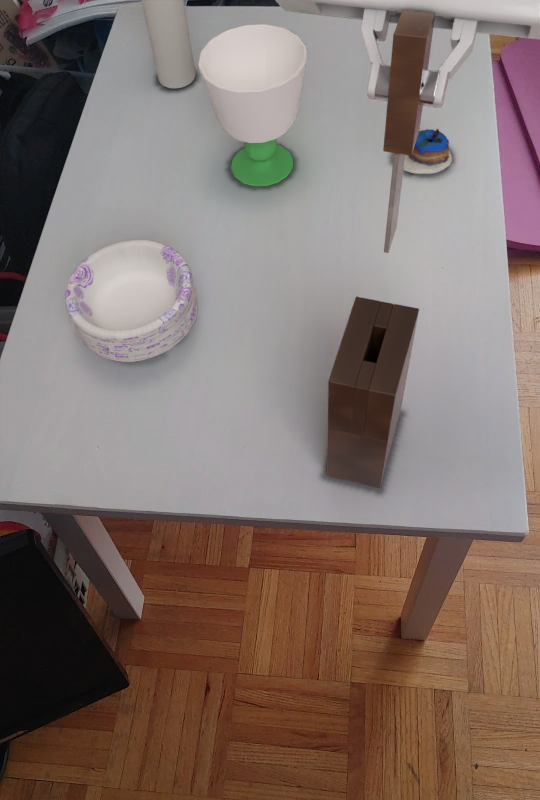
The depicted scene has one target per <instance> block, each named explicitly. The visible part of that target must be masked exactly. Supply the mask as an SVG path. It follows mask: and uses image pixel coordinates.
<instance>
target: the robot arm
mask: <svg viewBox="0 0 540 800" xmlns="http://www.w3.org/2000/svg"><path fill="white" fill-rule="evenodd" d="M275 2H276V3H277V4H278V5H279V7H280V8H281V9H282V10H283V11H285V12H287V13H294V14H304V15H312V16H323V17H332V18H339V19H349V20H358V21H361V26H360V32H361V36H362V39H363V43H364V45H365V49H366V52H367V57H368V59H369V62H370V65H371V68H370V73H369V77H368V78H369V79H368V84H367V88H366V89H367V91H366V92H367V93H366V95H367V97H368V99H369V100H377V101H385V102H388V90H389V79H390V68H391V64H385V63H384V62H383V58H382V55H381V52H380V48H379V44H378V41H379V42H385V41H386V40H387V37H388V32H389V27H390V24H395V25H397V24H398V21H399V18H400V16H401V13H402V10H403V9H407V10H416V11H425V12H434V13H435V20H434V27H433V29H438V30H449V31H451V34H450V46H451V47H450V48H451V49H452V50H451V52H450V53H449V54H448V56H446V59H445V60H444V62H442V64H441V65H440V66H439V68H438V69H437V70H433V69H432V70H430V69H428V70H425V74H424V79H423V87H422V88H421V93H420V99H419V103H420V105H423V107H430V108H437V109H442V108H443V105H444V101H445V97H446V92H447V87H448V83H449V80H451V79H452V78H453V76H454V75H455V74H456V73H457V71H458V70H459V69H460V68H461V66H463V64H464V63H465V61H466V60H467V59H468V58H469V57H470V56H471V54H472V53H473V50H474V46H475V41H476V38H477V37H476V36H477V34H486V35H494V36H501V37H512V38H521V39H530V40H538V41H540V0H275Z"/></svg>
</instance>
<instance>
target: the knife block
mask: <svg viewBox="0 0 540 800" xmlns="http://www.w3.org/2000/svg"><path fill="white" fill-rule="evenodd" d="M419 313H420V308H419V307H413V306H408V305H403V304H397V303H391V302H387V301H381V300H377V299H371V298H366V297H360V296H355V298H354V301H353V304H352V308H351V310H350V313H349V316H348V317H349V318H348V320H347V323H346V325H345V329H344V331H343V334H342V338H341V341H340V344H339V347H338V350H337V353H336V356H335V360H334V363H333V365H332V368H331V372H330V375H329V378H328V380H327V445H326V446H327V456H326V457H327V458H326V475H327V476H328V477H332V478H336V479H340V480H344V481H349V482H352V483H358V484H361V485H366V486H368V487H373V488H378V489H381V487H382V485H383V479H384V475H385V472H386V468H387V464H388V461H389V457H390V453H391V449H392V445H393V442H394V438H395V434H396V430H397V427H398V423H399V419H400V416H401V411H402V406H403V400H404V396H405V390H406V383H407V379H408V378H407V377H408V373H409V367H410V362H411V357H412V356H411V355H412V351H413V345H414V339H415V335H416V329H417V324H418V317H419Z"/></svg>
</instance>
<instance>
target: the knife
mask: <svg viewBox="0 0 540 800" xmlns="http://www.w3.org/2000/svg"><path fill="white" fill-rule="evenodd" d="M434 20H435V13H434V12H425V11H416V10H407V9H403V10H402V13H401V16H400V18H399V21H398V24H396V25H395V26H396V27H395V29H394V32H393V35H392V47H391V55H390V56H391V57H390V58H391V60H390V65H391V68H390V79H389V90H388V101H386V102H387V103H386V113H385V125H384V138H383V146H382V147H383V148H382V151H383V152H385V153H390V154H391V153H392V154H393V159H392V160H393V161H392V169H391V179H390V187H389V188H390V189H389V198H388V206H387V207H388V208H387V217H386V227H385V237H384V245H383V253H385V254H389V252H390V250H391V246H392V243H393V241H394V237H395V234H396V230H397V228H398V227H397V226H398V219H399V210H400V204H401V203H400V202H401V195H402V187H403V186H402V185H403V179H404V178H403V177H404V162H405V155H412V153H413V149H414V146H415V143H416V140H417V137H418V134H419V131H421V130H420V129H421V121H422V115H423V108H424V106H423V105H420V103H419V99H420V93H421V88H422V87H423V79H424V74H425V70H429V64H430V57H431V49H432V41H433V33H434V28H433V27H434Z"/></svg>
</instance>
